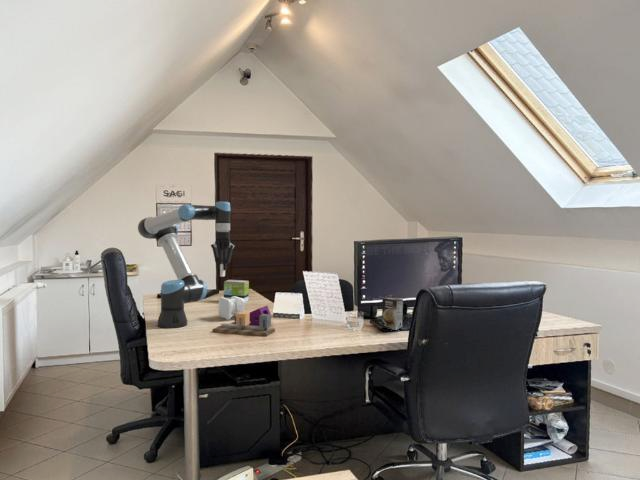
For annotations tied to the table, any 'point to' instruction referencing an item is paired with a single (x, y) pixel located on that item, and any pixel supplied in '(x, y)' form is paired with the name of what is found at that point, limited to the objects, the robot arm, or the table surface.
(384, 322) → the coffee box
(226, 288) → the tea box
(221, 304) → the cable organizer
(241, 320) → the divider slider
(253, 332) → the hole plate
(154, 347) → the table surface
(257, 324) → the mounting bracket
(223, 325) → the rail and fixed leg
